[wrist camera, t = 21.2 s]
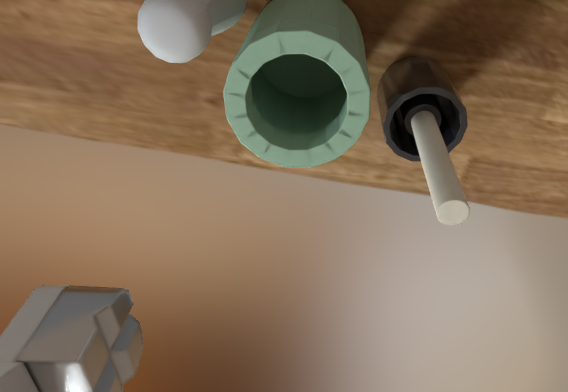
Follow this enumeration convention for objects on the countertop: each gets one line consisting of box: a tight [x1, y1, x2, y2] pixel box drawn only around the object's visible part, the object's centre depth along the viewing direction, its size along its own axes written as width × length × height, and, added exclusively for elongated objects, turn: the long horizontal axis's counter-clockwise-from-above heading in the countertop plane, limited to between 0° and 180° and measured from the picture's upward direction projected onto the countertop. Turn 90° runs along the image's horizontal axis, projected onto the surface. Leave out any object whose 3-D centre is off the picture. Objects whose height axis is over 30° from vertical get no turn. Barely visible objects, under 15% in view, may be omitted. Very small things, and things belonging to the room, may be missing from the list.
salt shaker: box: [138, 0, 247, 63], centre depth 34 cm, size 6×6×13 cm
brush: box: [399, 94, 470, 226], centre depth 35 cm, size 3×3×17 cm
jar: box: [223, 0, 371, 167], centre depth 36 cm, size 9×9×12 cm
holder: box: [377, 56, 468, 161], centre depth 39 cm, size 6×6×7 cm
